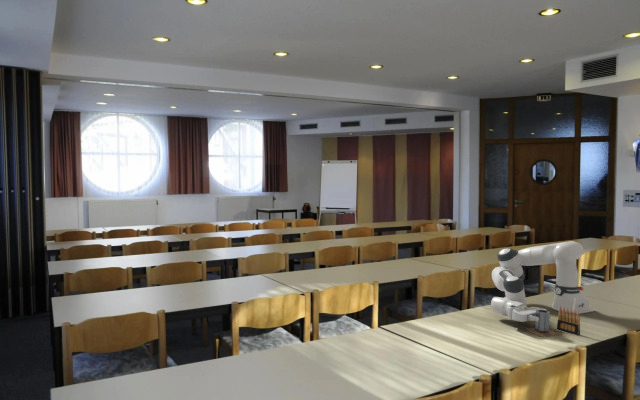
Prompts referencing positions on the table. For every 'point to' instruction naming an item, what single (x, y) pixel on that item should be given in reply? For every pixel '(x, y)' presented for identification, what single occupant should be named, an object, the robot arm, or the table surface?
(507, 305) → the robot arm
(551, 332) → the stand
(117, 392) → the table surface
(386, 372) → the table surface
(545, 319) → the grey octagonal tube
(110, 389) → the table surface
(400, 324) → the table surface
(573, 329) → the ammunition clip
